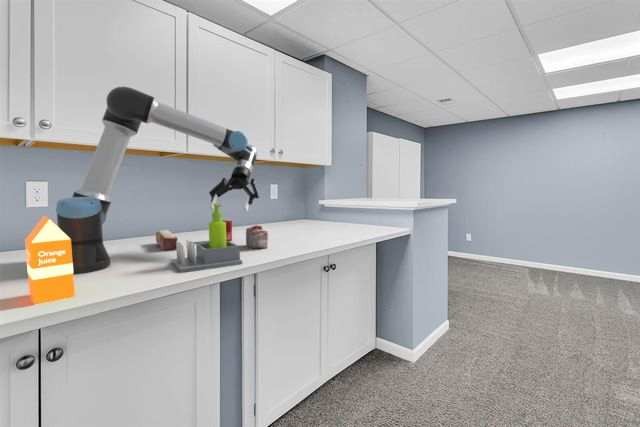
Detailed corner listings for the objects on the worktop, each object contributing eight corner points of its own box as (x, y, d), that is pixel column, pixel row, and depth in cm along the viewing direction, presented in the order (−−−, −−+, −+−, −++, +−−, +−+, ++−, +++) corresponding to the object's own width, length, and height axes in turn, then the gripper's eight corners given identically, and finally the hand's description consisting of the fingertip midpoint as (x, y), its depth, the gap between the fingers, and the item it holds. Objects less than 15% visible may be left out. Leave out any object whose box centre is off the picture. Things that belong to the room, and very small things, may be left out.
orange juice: (34, 305, 74) (27, 219, 72) (29, 296, 79) (22, 217, 78) (75, 296, 79) (70, 217, 78) (68, 288, 85) (62, 214, 83)
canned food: (234, 239, 161) (234, 218, 160) (228, 242, 153) (227, 220, 152) (219, 239, 162) (219, 218, 161) (213, 242, 154) (212, 219, 153)
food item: (270, 248, 139) (270, 226, 138) (252, 250, 135) (252, 227, 134) (259, 243, 151) (259, 223, 150) (243, 245, 147) (242, 224, 146)
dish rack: (180, 272, 101) (179, 247, 100) (171, 262, 114) (170, 240, 113) (242, 264, 112) (241, 241, 111) (227, 255, 125) (227, 235, 125)
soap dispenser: (211, 261, 111) (209, 204, 109) (208, 257, 117) (206, 203, 115) (228, 259, 113) (227, 203, 112) (225, 255, 120) (223, 202, 118)
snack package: (179, 250, 136) (178, 235, 135) (162, 252, 132) (161, 236, 131) (171, 242, 153) (170, 229, 153) (155, 244, 150) (155, 230, 149)
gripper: (271, 179, 140) (261, 216, 126) (217, 178, 142) (201, 214, 128) (268, 166, 134) (257, 203, 120) (211, 165, 136) (195, 202, 123)
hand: (228, 209), depth 124 cm, fingers open, 13 cm apart
